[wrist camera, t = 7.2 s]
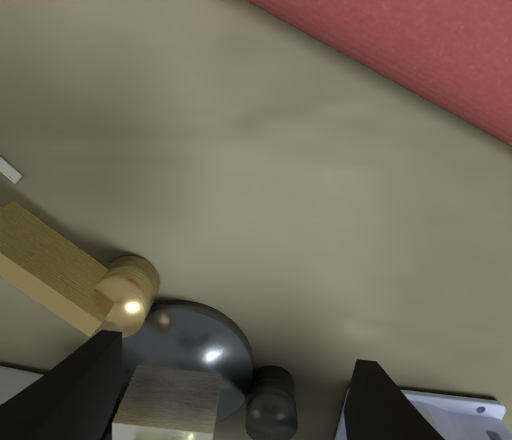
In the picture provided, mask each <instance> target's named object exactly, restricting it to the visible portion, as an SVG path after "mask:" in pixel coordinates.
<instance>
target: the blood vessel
mask: <svg viewBox="0 0 512 440" xmlns="http://www.w3.org/2000/svg"><path fill="white" fill-rule="evenodd" d="M247 1H248V2H250V3H252V4H254V5H256V6H258V7H259V8H261V9H263V10H265V11H267V12H269V13H270V14H272V15H274V16H276V17H278V18H279V19H281V20H283V21H285V22H287V23H289V24H290V25H292V26H294V27H296V28H298V29H300V30H301V31H303V32H305V33H307V34H309V35H310V36H312V37H314V38H316V39H318V40H320V41H321V42H323V43H325V44H327V45H329V46H331V47H332V48H334V49H336V50H338V51H340V52H341V53H343V54H345V55H347V56H349V57H351V58H352V59H354V60H356V61H358V62H360V63H362V64H363V65H365V66H367V67H369V68H371V69H372V70H374V71H376V72H378V73H380V74H382V75H383V76H385V77H387V78H389V79H391V80H393V81H394V82H396V83H398V84H400V85H402V86H403V87H405V88H407V89H409V90H411V91H413V92H414V93H416V94H418V95H420V96H422V97H424V98H425V99H427V100H429V101H431V102H433V103H434V104H436V105H438V106H440V107H442V108H444V109H445V110H447V111H449V112H451V113H453V114H455V115H456V116H458V117H460V118H462V119H464V120H465V121H467V122H469V123H471V124H473V125H475V126H476V127H478V128H480V129H482V130H484V131H485V132H487V133H489V134H491V135H493V136H495V137H496V138H498V139H500V140H502V141H504V142H506V143H507V144H509V145H511V146H512V0H247Z"/></svg>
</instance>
